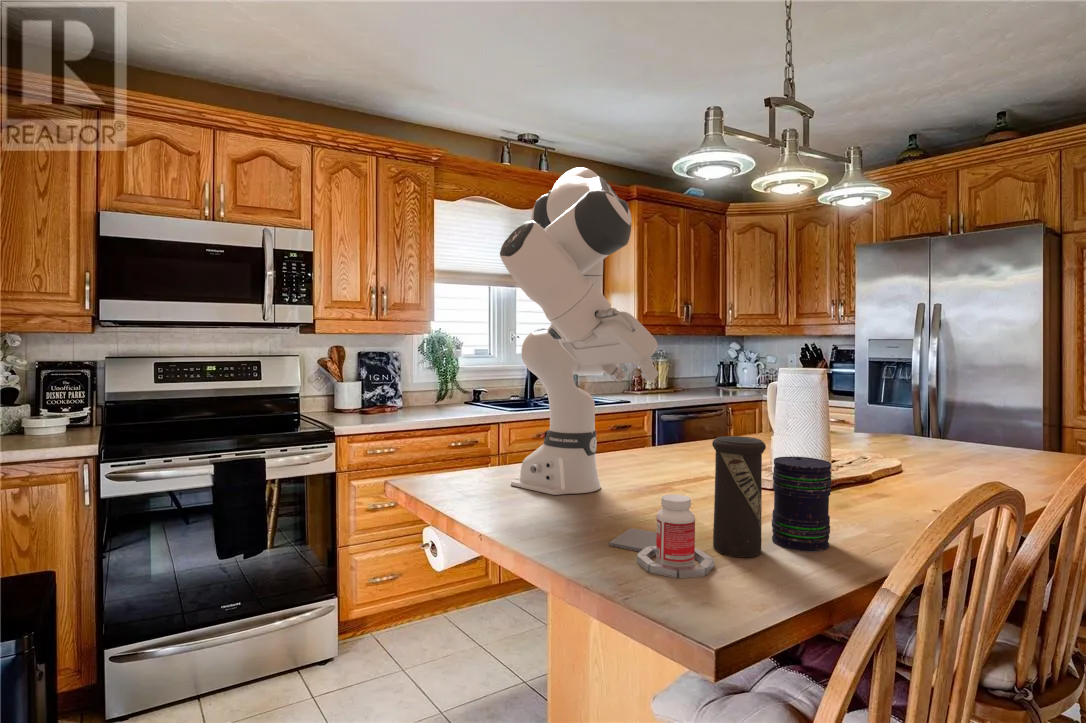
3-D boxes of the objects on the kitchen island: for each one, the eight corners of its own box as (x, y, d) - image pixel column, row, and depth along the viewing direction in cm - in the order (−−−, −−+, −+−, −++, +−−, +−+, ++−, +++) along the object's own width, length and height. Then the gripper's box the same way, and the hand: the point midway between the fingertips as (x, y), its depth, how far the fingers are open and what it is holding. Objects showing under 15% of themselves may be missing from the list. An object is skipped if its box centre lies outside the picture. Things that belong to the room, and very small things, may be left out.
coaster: (608, 545, 111) (608, 542, 111) (630, 531, 120) (630, 527, 120) (662, 556, 106) (662, 552, 106) (681, 540, 115) (681, 536, 115)
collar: (628, 568, 100) (628, 560, 100) (653, 547, 110) (654, 541, 110) (699, 583, 94) (699, 575, 94) (719, 560, 104) (719, 552, 104)
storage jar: (836, 554, 108) (838, 468, 107) (777, 550, 109) (779, 465, 109) (821, 536, 118) (823, 457, 117) (766, 532, 119) (768, 455, 119)
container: (734, 561, 104) (736, 442, 103) (700, 545, 112) (702, 434, 111) (774, 554, 107) (777, 439, 106) (738, 539, 115) (740, 431, 115)
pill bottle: (702, 566, 101) (703, 499, 101) (675, 574, 98) (676, 504, 98) (674, 555, 107) (675, 491, 106) (648, 562, 103) (649, 495, 103)
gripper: (630, 292, 88) (688, 362, 91) (566, 308, 106) (615, 366, 110) (603, 322, 86) (663, 392, 89) (542, 333, 104) (593, 391, 108)
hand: (636, 378), depth 100 cm, fingers open, 8 cm apart
